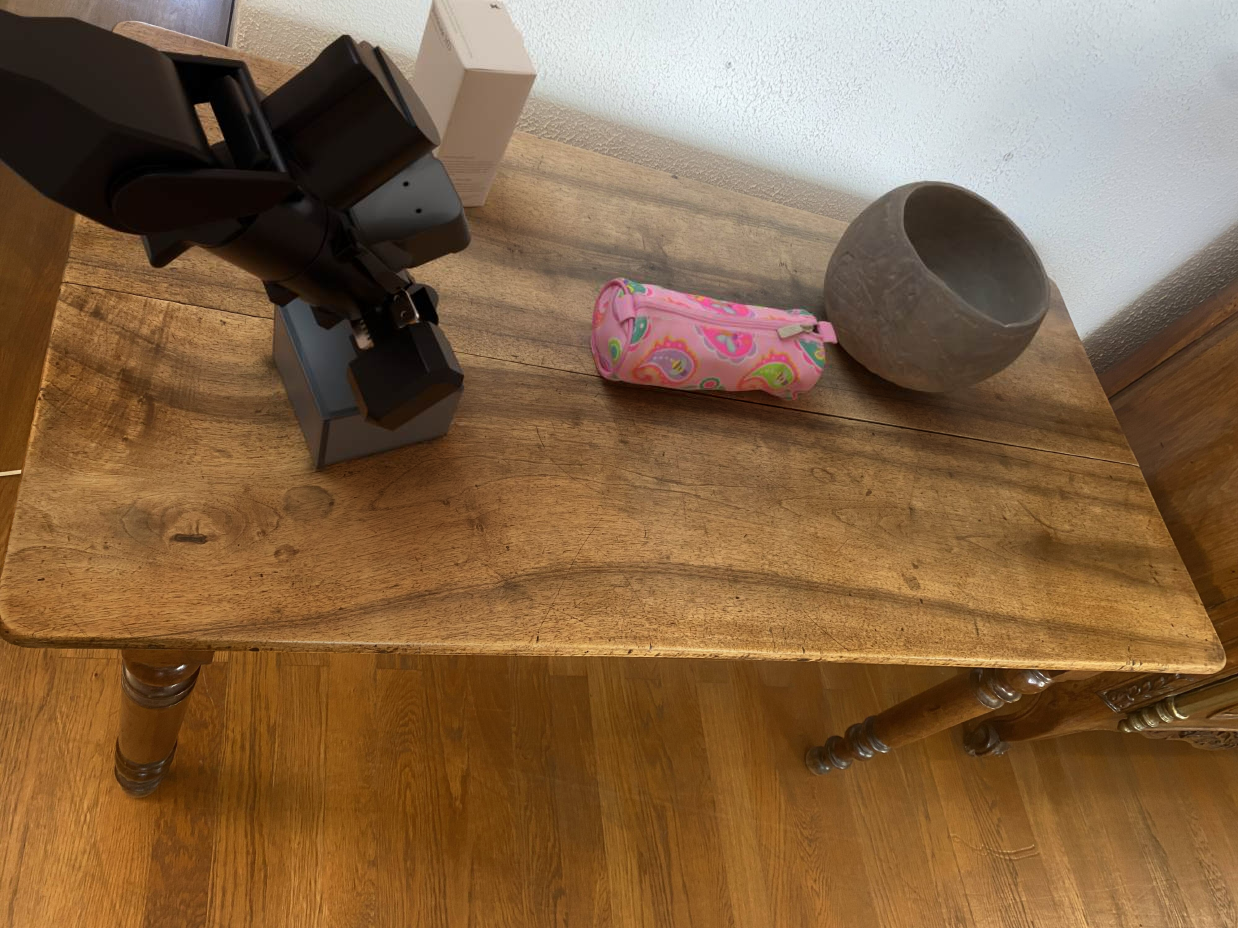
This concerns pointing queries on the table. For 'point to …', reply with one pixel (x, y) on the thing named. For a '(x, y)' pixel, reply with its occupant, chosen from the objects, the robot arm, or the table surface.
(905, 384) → the bowl
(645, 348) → the pencil case
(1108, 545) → the table surface
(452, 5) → the cosmetic box
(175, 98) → the robot arm
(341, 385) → the grey box with peg
